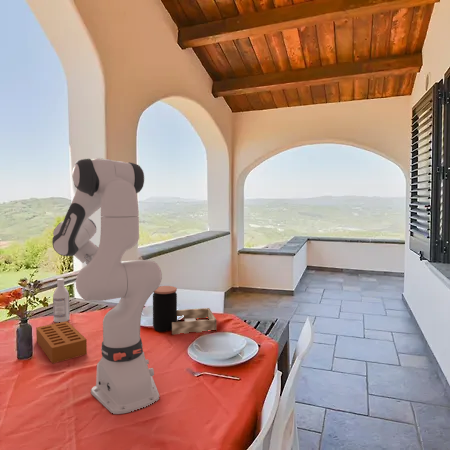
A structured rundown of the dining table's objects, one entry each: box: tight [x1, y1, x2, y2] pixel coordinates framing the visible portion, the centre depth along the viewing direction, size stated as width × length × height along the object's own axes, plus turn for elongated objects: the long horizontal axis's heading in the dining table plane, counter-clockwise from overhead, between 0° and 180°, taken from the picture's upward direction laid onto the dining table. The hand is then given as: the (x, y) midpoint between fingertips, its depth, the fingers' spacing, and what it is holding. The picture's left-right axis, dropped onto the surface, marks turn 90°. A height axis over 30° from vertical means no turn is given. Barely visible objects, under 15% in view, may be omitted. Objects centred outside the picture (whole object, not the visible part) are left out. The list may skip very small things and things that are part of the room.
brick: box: [35, 321, 88, 364], centre depth 134 cm, size 25×12×6 cm, turn 40°
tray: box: [171, 307, 217, 335], centre depth 158 cm, size 20×17×5 cm
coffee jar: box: [152, 285, 178, 333], centre depth 154 cm, size 11×11×18 cm
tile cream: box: [184, 318, 197, 321], centre depth 161 cm, size 5×5×2 cm
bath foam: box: [52, 277, 71, 323], centre depth 162 cm, size 7×7×20 cm
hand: (112, 274), depth 148 cm, fingers closed
